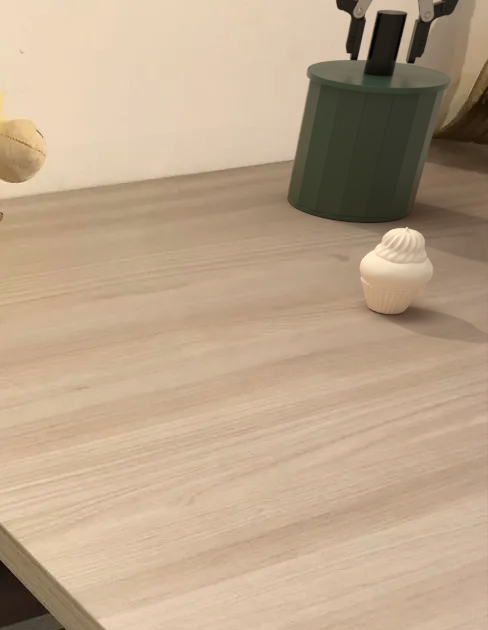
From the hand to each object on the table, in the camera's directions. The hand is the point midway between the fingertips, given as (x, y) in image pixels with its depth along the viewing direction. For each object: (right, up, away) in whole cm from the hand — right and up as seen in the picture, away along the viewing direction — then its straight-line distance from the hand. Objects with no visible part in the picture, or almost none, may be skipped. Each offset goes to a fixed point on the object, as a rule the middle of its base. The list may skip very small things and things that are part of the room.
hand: (381, 59), depth 108 cm
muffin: (-5, -31, -15) cm, 35 cm away
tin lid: (0, -1, +1) cm, 2 cm away
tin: (0, -11, +9) cm, 14 cm away
